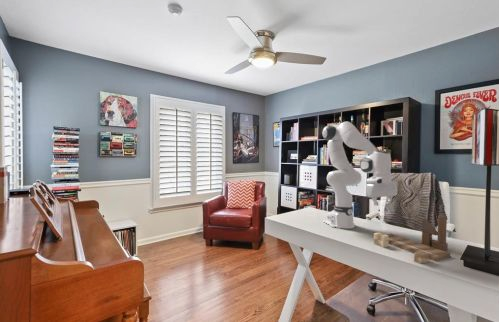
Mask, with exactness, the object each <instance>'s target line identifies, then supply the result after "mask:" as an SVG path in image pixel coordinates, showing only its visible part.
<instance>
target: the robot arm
mask: <svg viewBox="0 0 499 322" xmlns="http://www.w3.org/2000/svg"><path fill="white" fill-rule="evenodd" d="M321 134H322V138H323V140H325V141H327V144H326V145H327V153H328V157H329V160H330V164H331V166H332V167H334V168H336V169H337V170H332V171H329V172H328V173H327V175H326V181H327V184H328V185H329V186H331V188H332V189H333V191H334V195H335V196H334V198H335V199H334V200H335V204H334V205H332V208H333V210H331V211H329V212H328V213H327V215H326V218H325V219H324V220H323V221H322V222H323V223H324V222H325V223H324V224H326V223H327V225H328V224H329V225H328V226H330V227H332V228H335V227H336V228H337V229H338V228H339V229H354V228H355V222H354V221H355V220H354V214H353V212H354V206H353V195H352V193H351V192H350V191H348V188H347V187H348V186H349V187H351V186H356V185H357V186H358V185H359V184H360V183H361V182H362V174H361V172H360V171H358V170H356V169H355V168H354V167H353V166H352V165H351V163H350V161H349V159H348V157H347V155H346V151H345V148H344V145H343V143H344V144H345V145H346V146H347V147H349V148H350V149H351V148H352V149H356V150H360V151H363V152H366V154H368V156H363V157H362V158H361V160H360V161H359V167H360V170H361V171H362V172H363V173H366V174H372V176H370V177H368V178H367V179H366V181H365V182H366V186H365V196H366V197H367V198H371V199H372V201H373V205H374V206H379V201H377V200H378V198H383V197H387V199H386V200H385V204H386V205H391V203H392V200H393V197H396V196H397V195H398V184H397V182H396V180H395V179H394V178H392V172H391V170H392V168H393V162H392V157H391V154H390V152H389V151H387V150H380V149H379V148H378V147H377V146H376V145H375V144H374V143H373V142H371V140H369V139H367V138H366V137H365V136H364V135H363V134H362V133H361V132H360V131H359V130H358V128H357V127H356V126H355V125H354V124H353V123H351V122H350V121H343V122H340V124H336V125H335V124H332V125H325V126H324V127H323V128H322V131H321Z"/></svg>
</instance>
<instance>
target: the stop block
mask: <svg viewBox="0 0 499 322" xmlns="http://www.w3.org/2000/svg"><path fill="white" fill-rule="evenodd" d="M413 255H414V256H413V259H414V260H413V261H414V262H416V263H418V264H420V265H421V264H425V263H430V259H429V253H428V252H425V251H419V252H415V253H413Z"/></svg>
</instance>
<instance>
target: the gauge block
mask: <svg viewBox="0 0 499 322" xmlns="http://www.w3.org/2000/svg"><path fill="white" fill-rule="evenodd" d="M388 240H389V236H388V235H386V234H385V233H381V232H374V233H373V245H376V246H379V247H381V248H383V249H384V248H387V247H389V244H388Z"/></svg>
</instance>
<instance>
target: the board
mask: <svg viewBox="0 0 499 322" xmlns="http://www.w3.org/2000/svg"><path fill="white" fill-rule="evenodd" d="M385 235H388V236H389V240H388V245H392V246H394V247H397V248H400V249H402V250H404V251H406V252H410V253H413V254H414V253H415V252H419V251H425V252H428V253H429V260H431V261H434V262H436V261H440V260H444V259H448V258H451V254H452V253H450V252H447V251H442V250H439V249H436V248H433V247H431V246H427V245H424V244H422V242H418V241H415V240H412V239H409V238H406V237H402V236H399V235H396V234H394V233H386V234H385Z"/></svg>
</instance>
